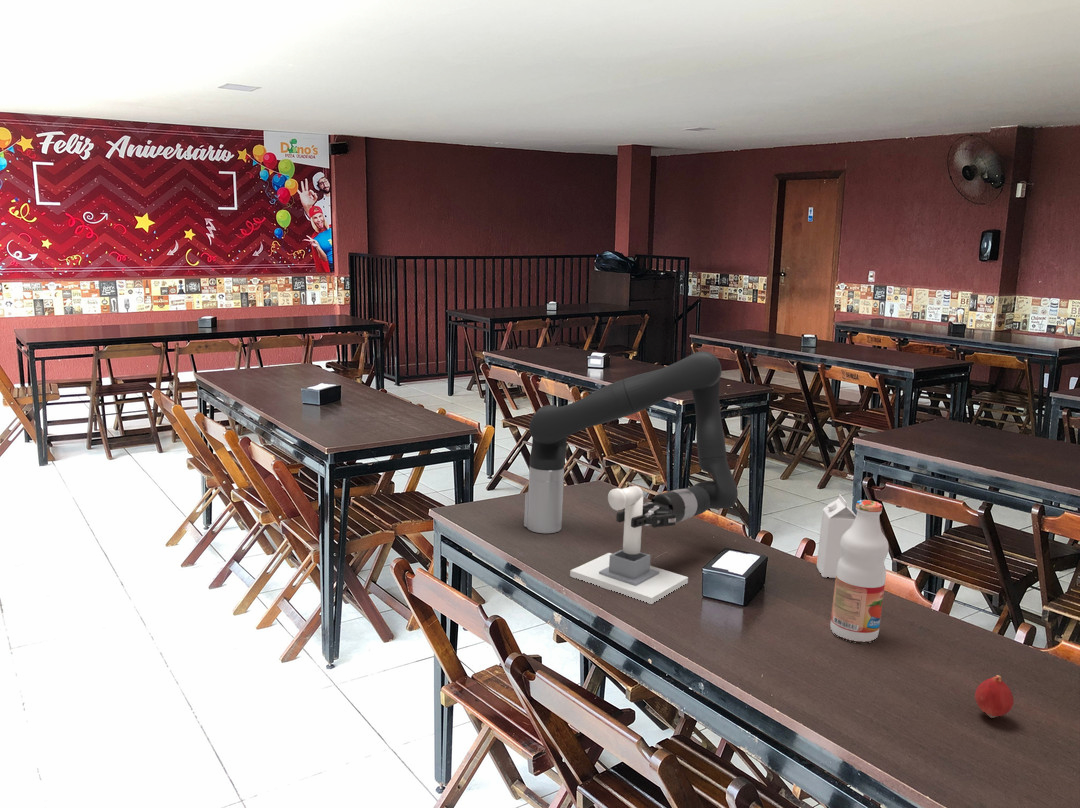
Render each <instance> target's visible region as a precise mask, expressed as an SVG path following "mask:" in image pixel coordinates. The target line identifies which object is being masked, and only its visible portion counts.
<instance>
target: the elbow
mask: <svg viewBox="0 0 1080 808" xmlns="http://www.w3.org/2000/svg"><path fill="white" fill-rule="evenodd" d="M607 501H608V504H609V507H611V509H612V510H614V511H620V510H622V511H623V509H624V508H625V519H624V521H623V523H624V524H623V539H622V541H623V542H622V549H623V552H624V553H627V554H639V553H640V552H641V546H642V528H643V527H642V526H643V525H642V526H639V527H636V528H633V527H631V519H632V518H633V517H637V516H641V515H642V512H643V503H644V491H643V489H642V488H641V487H640V486H637V485H634V486H628V487H624V488H620V487H617V488H612V489H611V490H610V491H609V492H608V494H607Z"/></svg>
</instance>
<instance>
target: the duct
mask: <svg viewBox="0 0 1080 808" xmlns="http://www.w3.org/2000/svg"><path fill="white" fill-rule="evenodd" d="M651 556H652V555H651V554H648V553H645V552H641V551H640V553H639V554H627V553H624V552H623V548H621V549H620V550H618V551H615V552H613V553H611V552H607V553H605V554H603V555H601V556H599V557H596V558H595V559H591V560H590V561H588V562H586V563H584V564H582V565H580V566H577V567H575V568H572V569H570V570H569V577H570V578H573V579H576V578H577V579H576V580H578V579H579V581H581V580H583V581H582V582H584V581H585V583H587V582H588V584H590V583H592V584H591V585H593V584H594V586H596V585H597V586H596V587H599V586H600V587H599V588H602V589H606V590H608V591H611V590H612V591H611V592H614V591H615V592H614V593H616V592H618V593H617V594H619V593H621V594H620V595H622V594H624V595H623V596H625V595H626V597H628V596H629V598H631V597H632V599H634V598H635V599H634V600H637V599H638V601H640V600H641V601H640V602H643V601H644V602H643V603H646V602H647V604H649V605H653V604H655V603H657V602H658V601H660V600H661V598H662V599H663V598H665V597H667V596H669V595H670V594H672V593H673V591H674V590H675V591H677V590H679V589H681V588H682V587H684V586H686V585H687V584H688V583H689V577H688V576H685V575H682V574H679V573H676V572H674V571H673V572H672V571H669V570H667V569H666V570H665V569H663V568H660V567H656V566H653V565H651V558H652V557H651ZM685 584H686V585H685ZM683 585H684V586H683ZM681 586H682V587H681ZM680 587H681V588H680ZM678 588H679V589H678ZM676 589H677V590H676ZM675 591H674V592H675ZM671 592H672V593H671ZM669 593H670V594H669ZM668 594H669V595H668ZM666 595H667V596H666ZM664 596H665V597H664ZM659 599H660V600H659ZM656 601H657V602H656ZM654 602H655V603H654Z"/></svg>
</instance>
